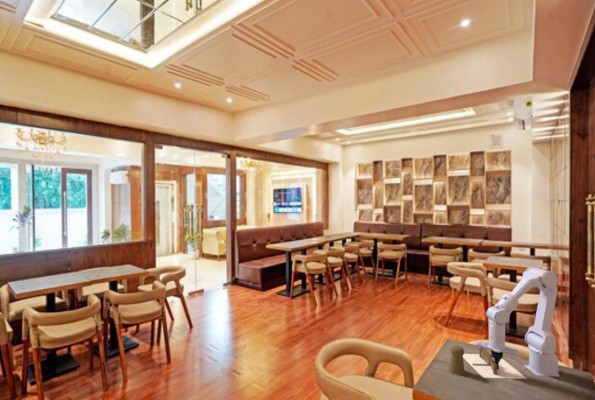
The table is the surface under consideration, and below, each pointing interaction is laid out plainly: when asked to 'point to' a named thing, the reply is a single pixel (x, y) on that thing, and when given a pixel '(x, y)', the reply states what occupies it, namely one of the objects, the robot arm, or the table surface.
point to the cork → (457, 360)
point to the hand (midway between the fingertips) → (496, 368)
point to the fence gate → (493, 366)
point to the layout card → (487, 371)
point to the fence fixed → (485, 355)
